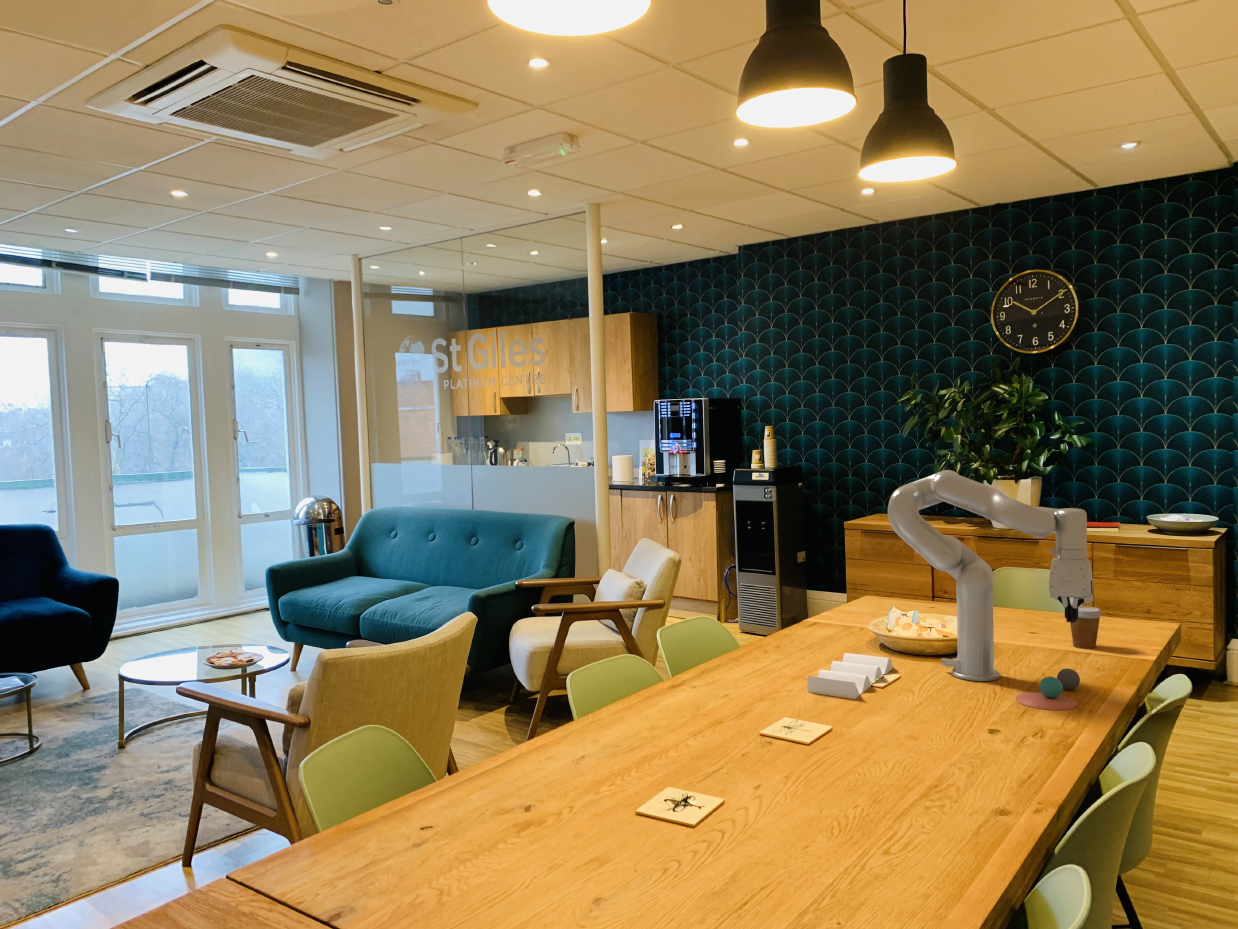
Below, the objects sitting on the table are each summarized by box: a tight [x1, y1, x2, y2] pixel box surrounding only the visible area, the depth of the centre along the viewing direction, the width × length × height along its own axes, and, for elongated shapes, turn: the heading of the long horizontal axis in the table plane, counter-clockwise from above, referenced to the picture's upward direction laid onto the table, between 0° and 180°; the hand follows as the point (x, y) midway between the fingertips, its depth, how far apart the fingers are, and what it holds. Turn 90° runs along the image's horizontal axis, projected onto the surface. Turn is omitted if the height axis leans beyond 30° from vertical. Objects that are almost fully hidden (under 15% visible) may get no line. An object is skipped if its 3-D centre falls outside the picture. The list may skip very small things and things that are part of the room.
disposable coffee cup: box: [1069, 605, 1102, 650], centre depth 280 cm, size 10×10×12 cm
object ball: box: [1038, 676, 1064, 698], centre depth 230 cm, size 6×6×6 cm
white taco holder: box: [806, 652, 894, 700], centre depth 252 cm, size 13×35×5 cm, turn 147°
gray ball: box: [1056, 668, 1081, 691], centre depth 237 cm, size 6×6×6 cm
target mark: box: [1015, 691, 1077, 711], centre depth 228 cm, size 14×14×1 cm
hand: (1071, 621), depth 241 cm, fingers closed
